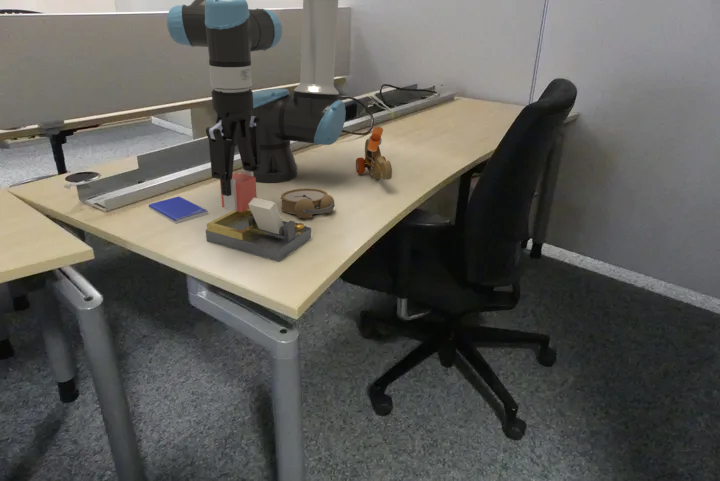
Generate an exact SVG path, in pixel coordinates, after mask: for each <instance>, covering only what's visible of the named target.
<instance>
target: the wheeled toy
mask: <svg viewBox="0 0 720 481" xmlns="http://www.w3.org/2000/svg"><path fill="white" fill-rule="evenodd" d="M383 131H384V129H383V127H381V126H375V127H373V129H372V133H371V135H370V136H368V138H367V139H365V143H364V157H357V158H356V160H355V170H356V174H357V173H358V174H357V175H364V174H365V172H366V169H367V171H368V173H369V174H370V175H371V177H372V180H373V179H379V180H380V179H381V178H382V179H383V180H391V179H392V176H393V169H392V168H393V167H392V164H391V162H390V161H389V160H387V159H386V157H385V156H382V153H381V149H380V145H381V144H382V141H383V139H382V136H383Z"/></svg>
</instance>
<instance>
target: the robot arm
mask: <svg viewBox="0 0 720 481" xmlns="http://www.w3.org/2000/svg"><path fill="white" fill-rule="evenodd" d="M302 1H303V2H302V23H301V24H302V26H301V28H302V29H301V48H300V49H301V54H300V77H299V78H300V79H299V81H300V82H299V84H298V85H297V86H296V87H295V88H294V89H293V95H290V91H289V89H288V88H283V87H282V88H278V87H277V88H267V89H262V90H261V89H260V90H255V91H253V90H252V89H251V87H252V86H253V79H252V78H253V76H252V58H251V57H252V56H251V52H257V51H263V52H264V51H267V50H269V49H271V48H274V47H276V46H277V45H278V44H279V43H280V41H281V39H282V36H283V26H282V23H281V20H280V18H279V17H278V16H277V14H276V13H275V12H274V11H271V10H270V9H265V8H249V4H248V1H247V0H193V1H192V2H191V4H189V5H186V4H182V5H175V6H172V7H171V8H170V9H169V11H168V13H167V17H166V27H167V30H168V33H169V36H170V38H171V39H172V40H173V41H174V42H175V43H176V44H179V45H181V46H182V45H183V46H190V47H193V48H195V47H197V48H198V47H200V48H207V51H208V64H209V66H208V67H209V68H208V69H209V79H210V80H209V82H210V87H211V88H213V89H212V91H211V102H212V109H213V110H214V111H215V112H216V115H217V116H216V120H215V125H213V126H212V127H209V126H208V127H206V129H205V133H206V136H207V139H208V145H209V146H208V147H209V158H210V168H211V169H210V170H211V171H210V172H211V177H212V178H213V179H217V180H219V181H220V180H221V187H220V191H221V190H222V195H223V197H224V208H223V209H225V210H229V211H237V197H236V182H235V179H232V174H234V171H233V170H234V164H235V163H234V162H235V152H236V147H237V149H238V152H239V157H240V160H241V164H242V165H241V166H242V169H240V174H244V175H248V176H253V177H256V183H257V182H260V183H278V182H279V183H280V182H285V181H289V180H291V179H294V178H296V176H297V175H298V165H297V162H296V160H295V159H296V158H295V157H294V153H293V151H292V148H291V142H298V143H307V144H314V145H316V146H320V145H325V146H331V145H333V144H335V143H336V142H337V141H338V140H339V138H340V136H341V135H342V134H341V133H342V132H343V129H344V125H345V121H346V112H347V110H346V105H345V103H344V101H343V100H341V99H339V97H340V92H339V91H338V90H337V89H336V87H335V84H334V83H335V64H336V47H337V32H338V31H337V30H338V14H339V12H338V9H339V0H302Z"/></svg>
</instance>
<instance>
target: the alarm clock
mask: <svg viewBox="0 0 720 481" xmlns="http://www.w3.org/2000/svg"><path fill="white" fill-rule="evenodd" d="M280 200H281V210H282V211H283V212H285V213H287V214H293V215H296V216H297V217H298V218H300V219H303V220H304V219H305V220H307V219H309V218H311V217H312V216H313V215H319V214H320V215H321V214H324V215H328V214H331V213H332V212H333V210H334V207H335V206H336V205H335V199H334V197H333V196H332V195H331V194H328V192H327V191H325V190H323V189H319V188H310V187H307V188H296V189H290V190H287V191H285V192H283V193H281V195H280Z"/></svg>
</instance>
